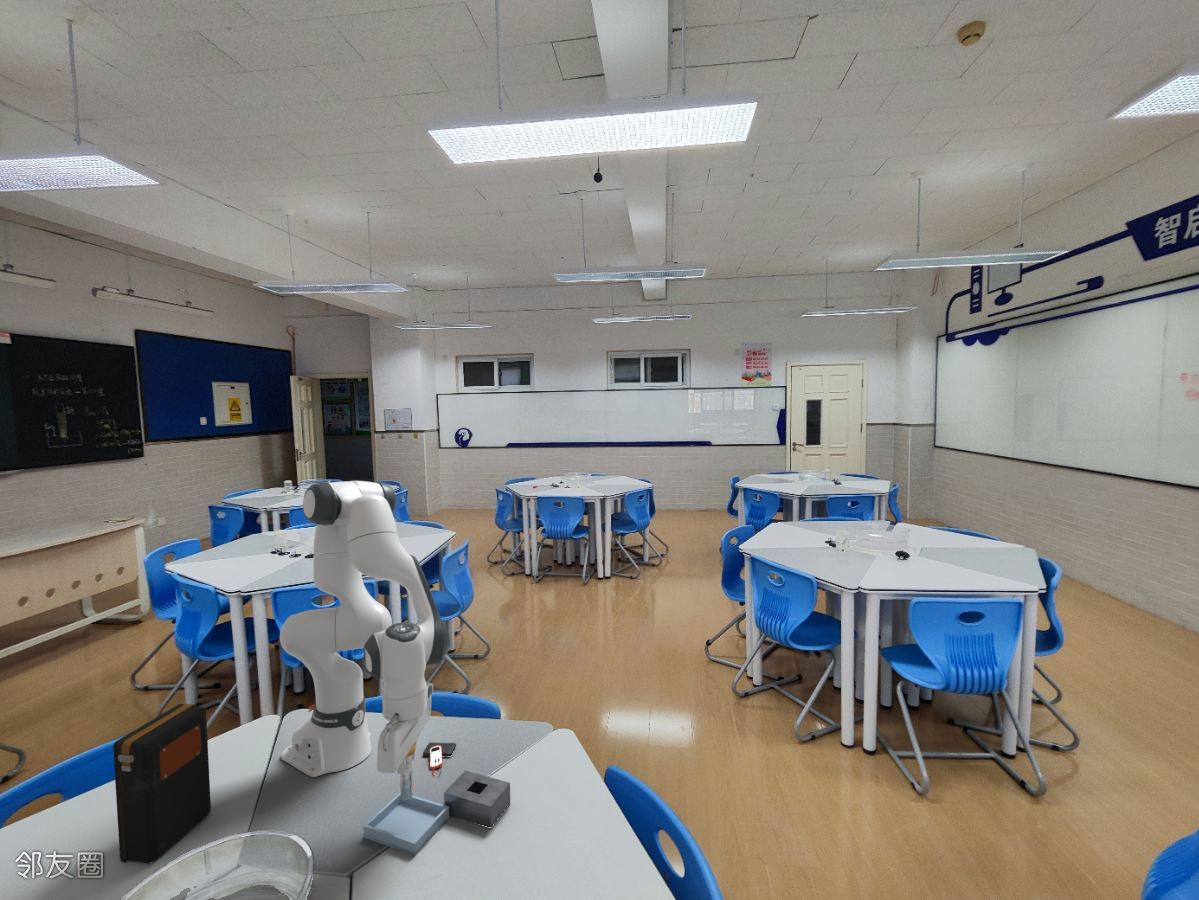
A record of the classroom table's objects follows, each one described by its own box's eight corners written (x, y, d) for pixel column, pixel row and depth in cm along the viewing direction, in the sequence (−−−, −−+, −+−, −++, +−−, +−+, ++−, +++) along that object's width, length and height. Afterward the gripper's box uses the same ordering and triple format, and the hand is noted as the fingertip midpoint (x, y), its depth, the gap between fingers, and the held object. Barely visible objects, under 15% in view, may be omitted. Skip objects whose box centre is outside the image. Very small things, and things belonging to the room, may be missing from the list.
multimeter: (446, 796, 127) (445, 782, 127) (397, 792, 129) (396, 778, 128) (473, 750, 145) (473, 737, 145) (430, 747, 147) (430, 734, 146)
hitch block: (444, 814, 121) (443, 792, 121) (465, 790, 128) (465, 770, 128) (491, 828, 117) (490, 806, 116) (510, 803, 124) (510, 782, 124)
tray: (363, 837, 114) (363, 826, 114) (401, 802, 125) (400, 791, 125) (414, 855, 110) (414, 843, 109) (449, 817, 120) (449, 806, 120)
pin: (396, 793, 117) (395, 742, 117) (414, 788, 119) (414, 738, 118) (397, 804, 114) (397, 752, 113) (416, 799, 116) (416, 748, 115)
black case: (183, 808, 123) (177, 700, 121) (217, 811, 122) (212, 703, 120) (113, 865, 107) (105, 742, 106) (152, 869, 106) (145, 745, 105)
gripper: (399, 730, 105) (401, 800, 106) (435, 680, 125) (437, 738, 126) (367, 730, 105) (369, 799, 106) (408, 679, 126) (410, 738, 126)
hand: (406, 766), depth 116 cm, fingers closed on pin, 2 cm apart
